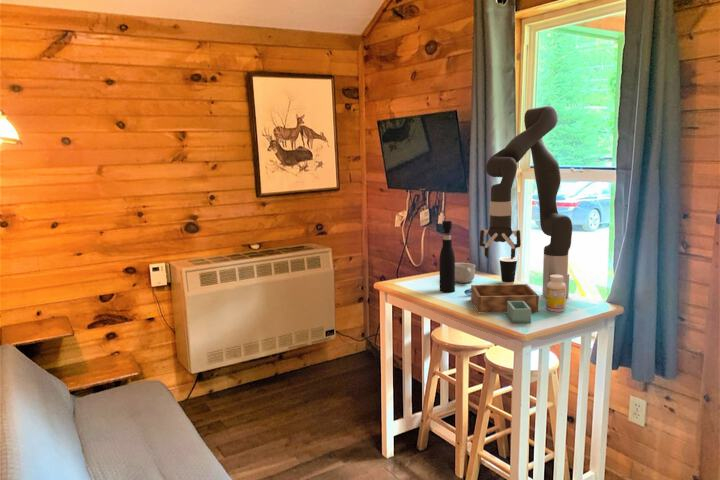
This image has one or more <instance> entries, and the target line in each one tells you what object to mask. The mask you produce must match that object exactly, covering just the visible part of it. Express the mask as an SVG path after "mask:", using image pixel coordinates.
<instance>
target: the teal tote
mask: <svg viewBox="0 0 720 480" xmlns="http://www.w3.org/2000/svg"><path fill="white" fill-rule="evenodd" d="M506 315H507V317H508V318H509V320H510V321H511V322H512V324H531V323H532V312H531V308H530V307H529V306H528V305H527V304H526V303H525V302H524V301H507V312H506Z"/></svg>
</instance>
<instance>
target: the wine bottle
mask: <svg viewBox="0 0 720 480" xmlns="http://www.w3.org/2000/svg"><path fill="white" fill-rule="evenodd" d="M441 225H442V230H443V239H442V247H441V250H440V254H439V291H440V292H441V293H445V294H451V293H454V292H456V281H455V263H456V257H455V252H454V249H453V245H452V242H453V240H452V235H451V230H452V229H453V228H452V227H453V221H452V220H443V221H442V224H441Z"/></svg>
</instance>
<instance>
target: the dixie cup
mask: <svg viewBox="0 0 720 480" xmlns="http://www.w3.org/2000/svg"><path fill="white" fill-rule="evenodd" d="M498 260H499V267H500V278H501V282H502V285H505V284H514V282H515V278H516V271H517V262H518V258H516V257H514V258H513V259H511V256H509V257H507V256H505V257H504V256H503V257H499V259H498Z"/></svg>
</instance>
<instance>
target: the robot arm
mask: <svg viewBox="0 0 720 480" xmlns="http://www.w3.org/2000/svg"><path fill="white" fill-rule="evenodd" d="M523 118H524V120H523V122H524V128H525V130H524V131H522V132H520V133H519V134H517V135H516V136H514V137H513V138H511V140H510V141H509V143H508V144H506V146H505V147H504V148H503V149H501V150H500V151H497V152H496V153H494V154H493V155H492V156H490V158H489V159H488V160H487V162H486V164H485V171H486V173H487V174H488V176H490V177H492V178H501V179H500V183H495V184H493V185H492V186H491V187H490V205H489V211H488V212H489V227H488V229H484V228H482V229H481V230H480V231H479V246H480V247H483V248H484V257H485V258H486V259H489V258H490V245H491V244H492V242H495V243H499V242H500V243H507V244H508V245H509V246H510V248H511V249H510V257H511V259H513V258H516V249H518V248H521V245H522V243H521V241H522V240H521V238H522V237H521V230H520V229H517V230H512V213H513V212H512V208H513V207H512V188H513V185H514V181H515V177H516V175H517V174H516V173H517V170H518V164H517V163H519V162H520V161H521V160H522V159H523V157H524V156H525V155H526V154H527V152H528V151H529V150H530V152H531V158H532V164H533V173H534V179H535V183H536V188H537V189H536V190H537V197H538V205H539V223H540V229H541V230H542V233H544V234H545V236H549V237H550V240H549V241H550V242H549V244H548V245H545V246H544V247H543V261H542V263H543V268H542V270H543V271H542V296H543V297H545V298H547V284H548V282H550V281H551V280H550V275H562V276H563V282H564V283H565V284H566V298H569V293H570V292H569V290H570V274H569V271H568V270H569V267H568V266H569V251H570V249H571V245H572V238H573V237H572V236H573V223H572V220H571V218H570V217H569V216H568V215H565V214H559V212H558V206H557V195H558V192H559V189H560V186H561V180H562V179H561V171H560V165H559V163H558V160H557V159H556V157H555V156H554V155H553V153H552V152H551V151H550V150H549V149H548V147H547V146H546V144H545V142H544V139H543V137H545V136H546V135H547V134H548V133H549V132H551V131H552V130H553V129H554V128H555V127H556V126H557V125H558V121H559V114H558V111H557V109H556V108H555V107H554V106H552V105H544V106H538V107H532V108H528V109H527V110H526V111H525V113H524V117H523ZM487 234H488V235H489V237H490V238H489V239H488V240H487V242H484V241H485V236H486V235H487ZM512 235H514V237H516V243H514V242H513V240H512V238H511V236H512Z"/></svg>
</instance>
